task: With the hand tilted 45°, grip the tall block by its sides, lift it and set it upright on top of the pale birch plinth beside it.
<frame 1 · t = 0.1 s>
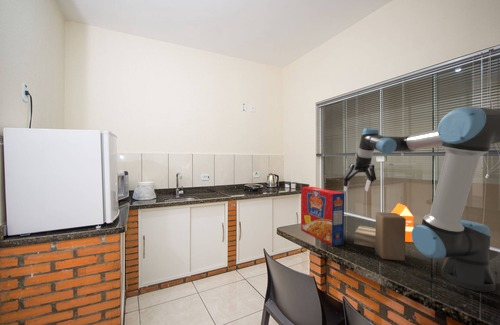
hand: (356, 190, 132), 28 cm above the counter, tool tilted 20°, fingers open, 13 cm apart
block: (389, 256, 109), on the counter
pasta box: (320, 237, 135), on the counter
orange juice: (401, 239, 132), on the counter
plinth: (370, 241, 127), on the counter
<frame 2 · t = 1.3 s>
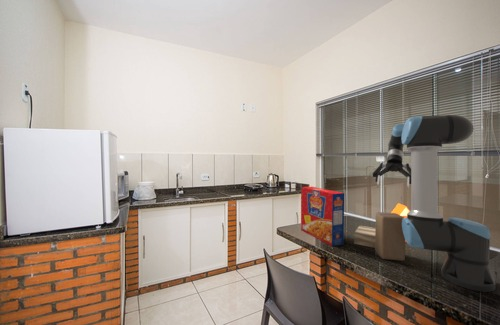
hand: (392, 187, 121), 32 cm above the counter, tool tilted 45°, fingers open, 13 cm apart
nothing on the counter moved.
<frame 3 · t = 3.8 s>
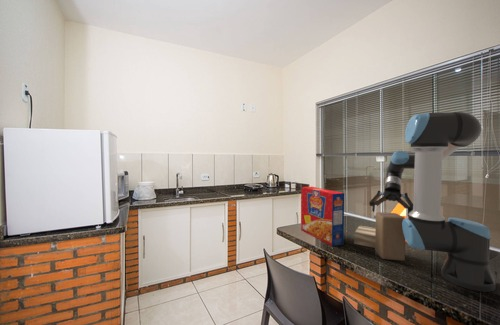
hand: (390, 219, 114), 16 cm above the counter, tool tilted 45°, fingers open, 13 cm apart
nothing on the counter moved.
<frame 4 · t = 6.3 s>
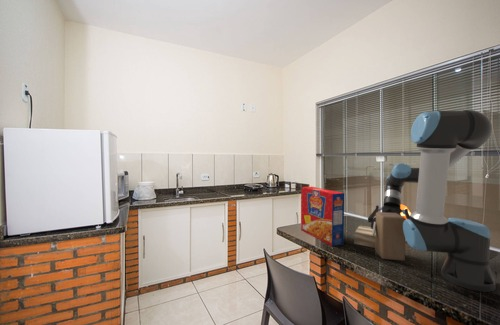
hand: (389, 237, 107), 10 cm above the counter, tool tilted 45°, fingers closed on block, 12 cm apart
block: (389, 256, 109), on the counter, touching gripper
everything else where it was.
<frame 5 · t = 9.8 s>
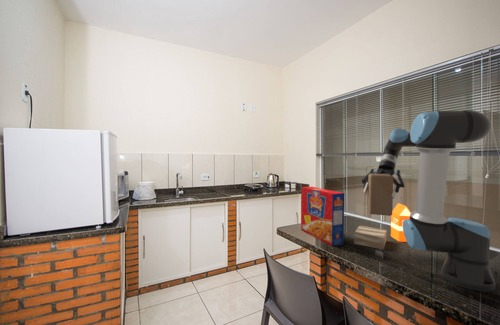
hand: (378, 195, 115), 28 cm above the counter, tool tilted 45°, fingers closed on block, 12 cm apart
block: (379, 213, 117), point 18 cm above the counter, touching gripper
everything else where it was.
when the fingers open (17 cm above the counter, at t = 13.8 s): block drops 1 cm, resting on plinth.
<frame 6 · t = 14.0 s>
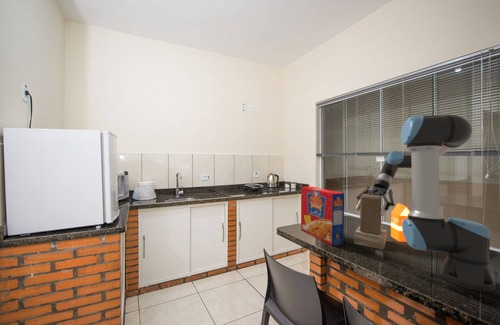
hand: (368, 211, 125), 17 cm above the counter, tool tilted 45°, fingers open, 13 cm apart
block: (370, 231, 127), point 6 cm above the counter, touching plinth
everything else where it was.
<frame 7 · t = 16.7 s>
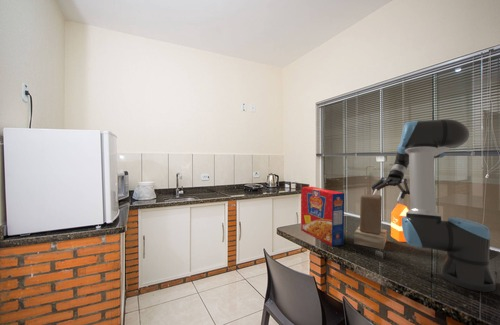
hand: (385, 200, 130), 23 cm above the counter, tool tilted 45°, fingers open, 13 cm apart
nothing on the counter moved.
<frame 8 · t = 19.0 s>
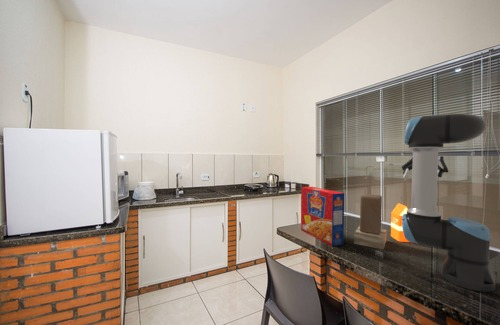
hand: (419, 180, 118), 36 cm above the counter, tool tilted 45°, fingers open, 13 cm apart
nothing on the counter moved.
at the end: block inside the target area on the plinth (0.1 cm from its centre), point 5.8 cm above the plinth's base; block tilted 0°; the gripper is holding nothing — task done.
